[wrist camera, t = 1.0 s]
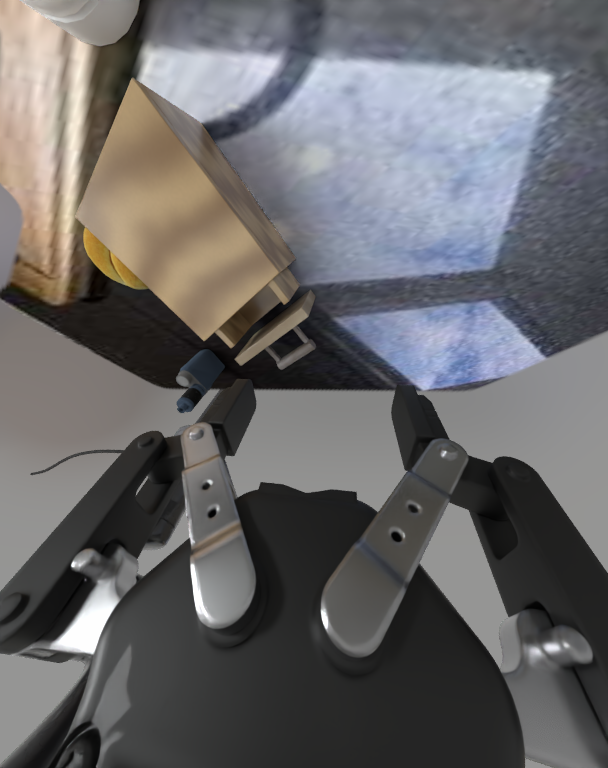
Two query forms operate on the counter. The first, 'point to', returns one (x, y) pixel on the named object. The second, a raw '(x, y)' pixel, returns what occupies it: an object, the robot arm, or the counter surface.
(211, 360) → the vaping device
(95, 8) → the honey pot
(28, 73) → the counter surface
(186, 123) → the cabinet
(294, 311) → the drawer
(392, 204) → the counter surface
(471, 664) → the robot arm
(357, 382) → the counter surface
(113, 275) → the bread roll
